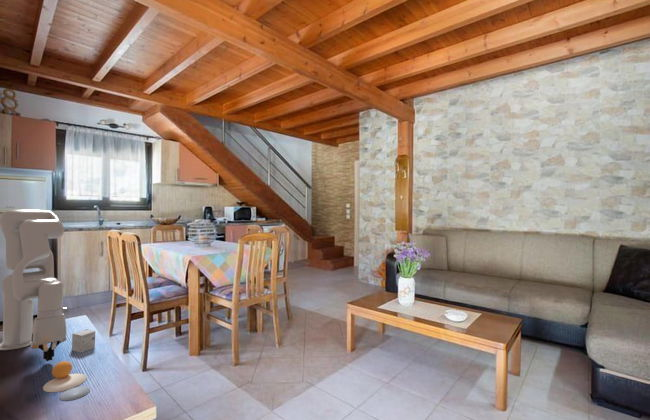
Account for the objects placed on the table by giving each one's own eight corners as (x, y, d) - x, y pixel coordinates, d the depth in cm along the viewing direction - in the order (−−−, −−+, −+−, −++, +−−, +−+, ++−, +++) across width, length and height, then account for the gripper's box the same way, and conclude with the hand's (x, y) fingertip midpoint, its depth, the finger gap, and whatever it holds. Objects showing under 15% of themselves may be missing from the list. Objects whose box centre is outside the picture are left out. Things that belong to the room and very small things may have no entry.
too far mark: (56, 394, 106) (56, 393, 106) (85, 384, 112) (85, 383, 112) (63, 403, 101) (63, 403, 101) (93, 392, 107) (93, 392, 107)
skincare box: (80, 353, 136) (81, 335, 136) (71, 350, 138) (71, 333, 138) (95, 347, 142) (95, 330, 142) (86, 345, 144) (86, 328, 144)
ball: (49, 371, 117) (51, 360, 115) (68, 366, 121) (71, 355, 119) (52, 384, 114) (55, 373, 112) (72, 378, 118) (75, 367, 116)
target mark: (38, 383, 112) (38, 383, 112) (80, 370, 121) (80, 370, 121) (48, 396, 105) (48, 395, 105) (91, 381, 114) (91, 381, 114)
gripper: (70, 307, 135) (69, 350, 135) (22, 315, 123) (20, 363, 123) (76, 310, 130) (74, 356, 130) (26, 320, 118) (25, 369, 118)
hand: (48, 359), depth 126 cm, fingers closed
